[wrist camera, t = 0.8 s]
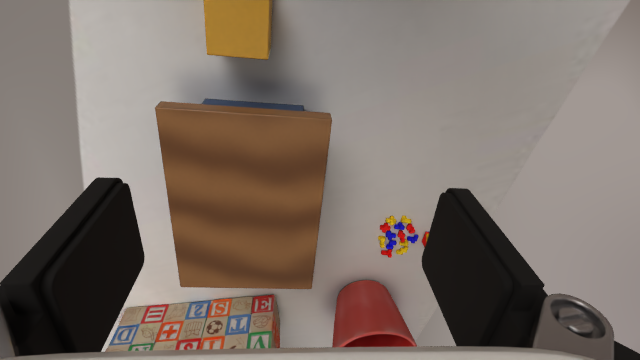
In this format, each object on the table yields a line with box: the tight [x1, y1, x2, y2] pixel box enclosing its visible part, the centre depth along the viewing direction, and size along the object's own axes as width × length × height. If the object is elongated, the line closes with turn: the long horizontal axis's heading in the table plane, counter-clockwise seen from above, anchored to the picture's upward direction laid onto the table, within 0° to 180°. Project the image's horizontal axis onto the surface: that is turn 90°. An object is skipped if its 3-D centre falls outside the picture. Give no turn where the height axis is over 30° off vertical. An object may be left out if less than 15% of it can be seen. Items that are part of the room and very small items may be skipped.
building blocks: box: [378, 216, 429, 258], centre depth 47 cm, size 6×8×2 cm
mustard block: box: [204, 0, 272, 60], centre depth 31 cm, size 5×5×5 cm
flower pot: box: [332, 280, 417, 347], centre depth 50 cm, size 11×11×10 cm
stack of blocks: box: [105, 295, 280, 352], centre depth 48 cm, size 21×6×12 cm, turn 94°
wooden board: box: [155, 101, 332, 289], centre depth 35 cm, size 20×14×2 cm
